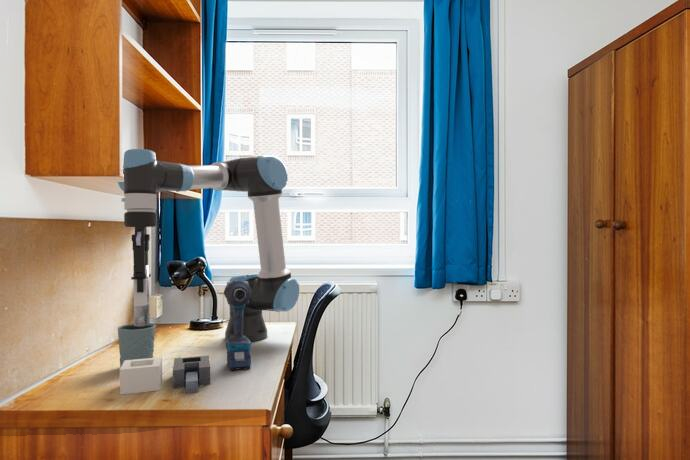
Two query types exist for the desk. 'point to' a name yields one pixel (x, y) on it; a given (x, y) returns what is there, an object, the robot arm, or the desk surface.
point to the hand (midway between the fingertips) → (141, 304)
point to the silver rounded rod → (142, 311)
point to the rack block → (141, 375)
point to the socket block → (191, 370)
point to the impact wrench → (238, 325)
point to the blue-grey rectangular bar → (191, 382)
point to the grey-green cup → (136, 342)
